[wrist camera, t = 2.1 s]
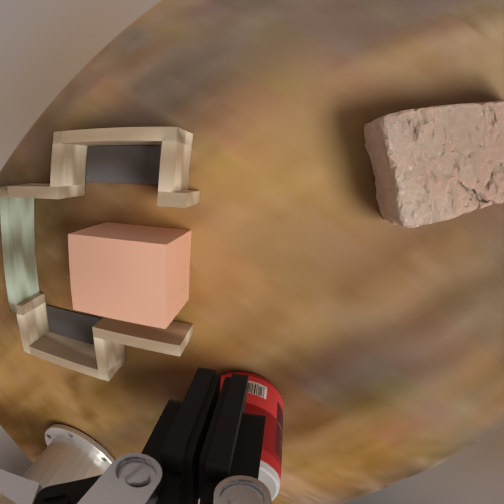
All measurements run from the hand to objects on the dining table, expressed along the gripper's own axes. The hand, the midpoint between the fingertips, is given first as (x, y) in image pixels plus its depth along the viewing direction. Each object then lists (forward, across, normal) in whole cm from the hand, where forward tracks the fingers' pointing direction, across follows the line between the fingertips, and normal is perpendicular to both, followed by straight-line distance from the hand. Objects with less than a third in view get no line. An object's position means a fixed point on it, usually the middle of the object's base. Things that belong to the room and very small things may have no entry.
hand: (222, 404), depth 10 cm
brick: (+17, -16, -11) cm, 26 cm away
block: (+17, +10, +1) cm, 19 cm away
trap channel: (+16, +15, +1) cm, 22 cm away
